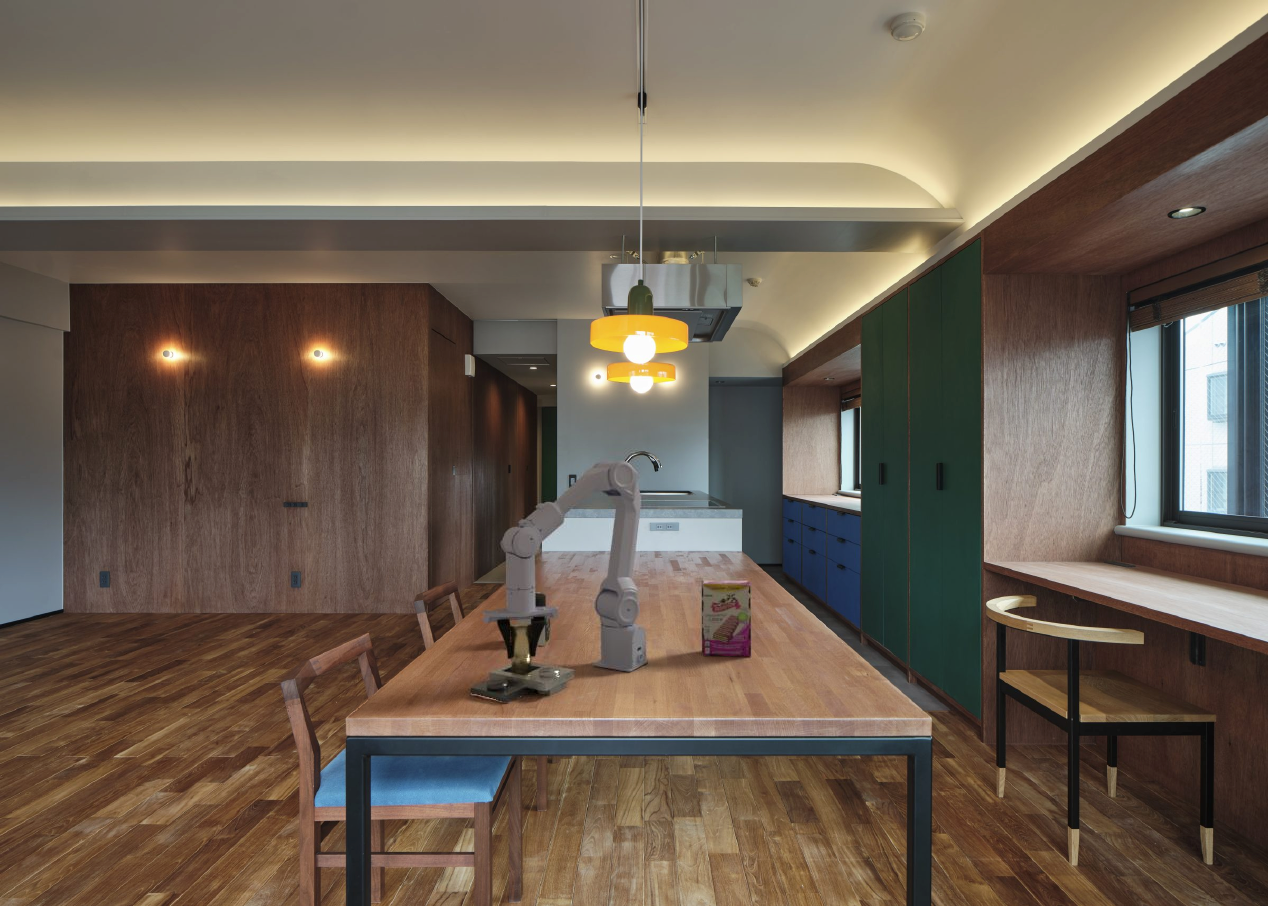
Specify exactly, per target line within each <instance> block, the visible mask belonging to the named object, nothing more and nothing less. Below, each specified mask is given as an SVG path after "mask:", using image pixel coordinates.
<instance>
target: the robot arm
mask: <svg viewBox="0 0 1268 906" xmlns="http://www.w3.org/2000/svg"><path fill="white" fill-rule="evenodd" d="M638 479H639V473H638V472H637V471H636V469H635V468H634V467H633V466H632V465H631V463H629V462H627V461H625V460H620V461H599V462H596V463H595V464H593V466H592V467H590V468H588V469H587V470H586V471H585V472H584V473H583V474H582V476H580V478H578V479H577V480H576V481H575V482H574V483H573V484H572V485H571V486H570V487H569V488H568V489H567V490H566V491H565V492H563V494H561V495H560V496H559V497H558V498H557V499H556V500H555V501H554V502H551V501H546V502H544V503H543V502H542V503H541V502H540V503H538V504H537V505H536V506H535V508H536V509H535V510H534V511H533V512H532V513H531V514H529V515H528V516H527V517H526V518H525V519H520V520H519V521H518V526H513V527H511V528H508V529H507V530H506V531H505V532H504V535H503V536H502V540H500V546H501V549H502V550H503V552H504V553H505V587H506V588H505V594H506V597H505V598H506V602H505V603H506V604H505V605H506V607H505V608H500V609H494V610H485V611H483V615H482V616H483V624H489V623H494V622H496V624H497V625H496V626H497V628H498V630H499V631H500V634H501V637H502V638H503V641H504V645H505V648H506V654H507V655H506V656H507V659H508V660H509V659H510V660H511V659H512V652H511V621H517V620H524V619H531V656H532V658H534V657H536V654H537V653H536V652H537V647H538V646H537V644H538V641H539V638H540V635H541V633H542V630H543V628H544V626H545V618H550V619H551V618H552V619H558V618H559V608H558V606H546V607H535V593H536V558H535V557H536V554H537V553H538V552H539V550H540V548H541V543H543V541H544V540H546V539H547V538H548V537H549V536H550V535H552V534H553V533H554V532H555V531H557V529H559V528H560V527H561V526H562V525H563V524H564V522H565V516H566V514H568V512H570V511H571V510H572V509H574V508H575V507H576V506H577V505H579V504H580V503H581V502H583V501H584V500H585V499H587V498H588V497H589V496H591V495H592V494H593V493H599V492H601V493H603V494H605V495H606V496H607V497H608V498H609V499H610V500H611V501H612V503H613V504H614V505H615V512H614V519H613V521H614V522H613V529H612V537H611V544H610V551H609V552H610V553H609V561H608V569H607V576H606V577H605V578H604V580H603V581H602V582H601V583H600V586H599V591H598V593H597V594H596V597H595V600H594V610H595V612H596V614H597V615H598V616H599V621H600V659H599V660H597V661H596V662H594V663H592V666H593V667H599V668H605V669H608V670H609V669H611V670H616V671H617V670H618V671H621V672H628V673H630V672H632V671H634V670H637V669H638V668H640V667H641V666H643V665H646V664H647V663H648V662H649V660H648V659H647V635H646V634H647V633H646V631H645V628H644V627H643V626H641V625H637V624H636V622H635V621H636V620H637V618H638V617H639V615H640V611H641V608H640V607H641V606H640V603H639V596H638V595H639V589H638V587H637V586H636V583H635V582H634V581H633V580H634V579H633V576H634V575H633V574H634V566H635V565H634V564H635V558H636V557H635V556H636V550H637V541H638V531H639V525H640V515H641V508H642V496H641V493H640V488H639V485H638Z"/></svg>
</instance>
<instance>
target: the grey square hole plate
mask: <svg viewBox="0 0 1268 906" xmlns="http://www.w3.org/2000/svg"><path fill="white" fill-rule="evenodd" d="M573 678H575V669H571V668H567V667H561V666H556V665H549V664H544V663H539V662H538V663H537V662H532V671H531V672H530V673H527V674H525V675H520V674H515V673H511V663H509V664H506V665H503V666H501V667H498V668H496V669H493V670H491V671H488V680H507V681H508V684H512V685H517V686H522V687H527V688H532V689H536V691H537V694H540V693H541V695H545V694H546V695H545V696H552V695H554V694H556V693H558V692H560V691H562V690H565V689H566V688H567V681H569V680H572V679H573Z"/></svg>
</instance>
